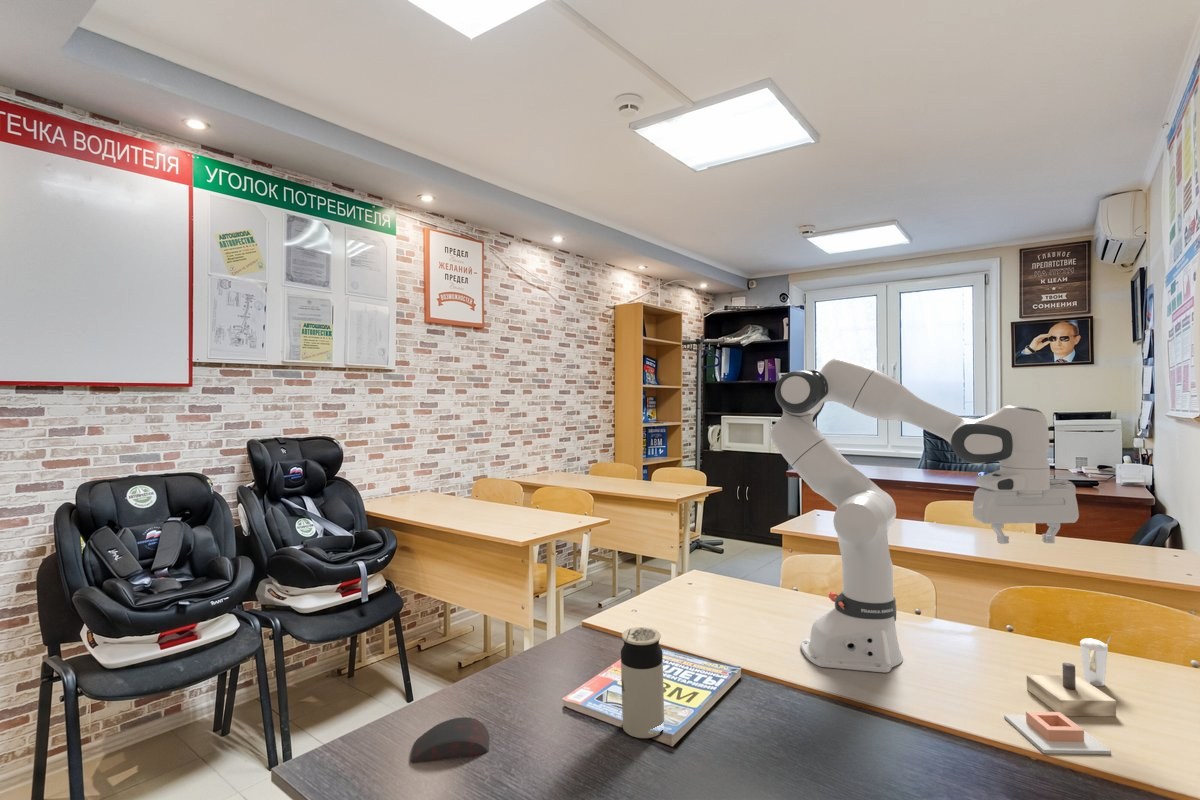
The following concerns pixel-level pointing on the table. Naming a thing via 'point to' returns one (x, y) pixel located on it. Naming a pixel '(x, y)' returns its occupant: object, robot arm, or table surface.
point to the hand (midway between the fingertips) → (1025, 543)
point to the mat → (1060, 747)
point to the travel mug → (642, 681)
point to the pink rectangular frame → (1055, 726)
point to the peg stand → (1071, 694)
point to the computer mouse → (452, 741)
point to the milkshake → (1094, 660)
